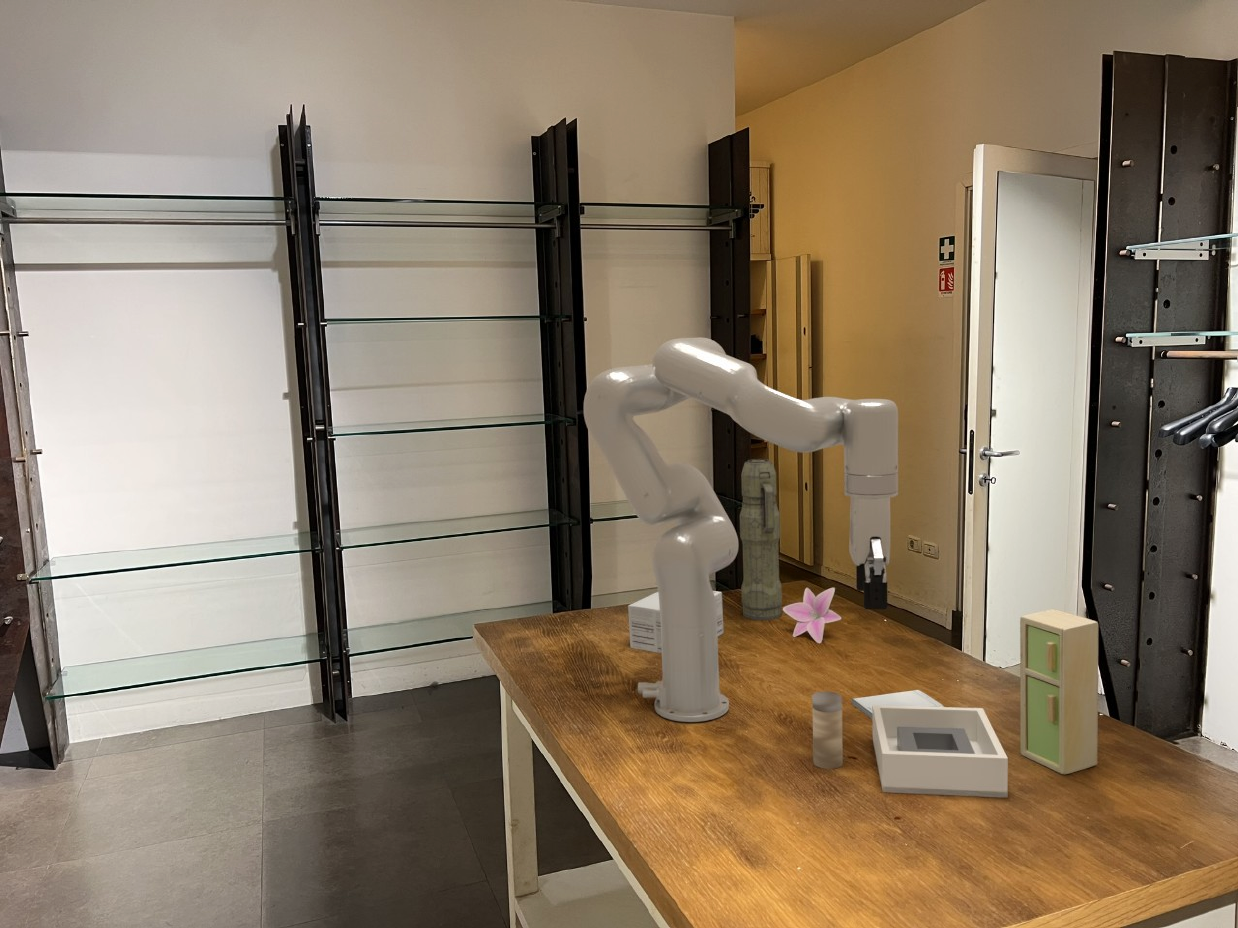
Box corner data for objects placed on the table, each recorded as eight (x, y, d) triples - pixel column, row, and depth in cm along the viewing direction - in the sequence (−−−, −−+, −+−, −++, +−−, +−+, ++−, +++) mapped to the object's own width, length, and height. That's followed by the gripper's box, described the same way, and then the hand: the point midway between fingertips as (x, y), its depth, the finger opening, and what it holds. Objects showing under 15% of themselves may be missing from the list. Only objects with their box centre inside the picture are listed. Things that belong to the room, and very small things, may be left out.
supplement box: (671, 625, 206) (669, 584, 205) (724, 634, 199) (723, 591, 198) (628, 648, 192) (626, 604, 191) (683, 658, 185) (681, 612, 184)
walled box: (882, 791, 127) (882, 753, 127) (872, 739, 144) (872, 705, 143) (1007, 797, 124) (1007, 758, 124) (982, 743, 141) (982, 708, 140)
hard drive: (875, 715, 150) (944, 705, 153) (851, 697, 158) (917, 687, 161) (875, 725, 150) (944, 714, 153) (851, 707, 158) (917, 696, 161)
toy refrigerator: (1014, 755, 137) (1016, 615, 134) (1051, 744, 140) (1054, 607, 137) (1059, 777, 129) (1062, 630, 127) (1097, 765, 132) (1101, 621, 130)
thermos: (758, 624, 204) (754, 465, 199) (732, 610, 215) (727, 459, 210) (793, 618, 207) (790, 461, 203) (765, 605, 218) (761, 456, 213)
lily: (780, 632, 201) (771, 600, 196) (824, 605, 204) (817, 573, 199) (813, 664, 191) (804, 631, 186) (859, 635, 194) (852, 602, 189)
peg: (813, 768, 135) (812, 701, 134) (813, 755, 140) (811, 690, 138) (843, 769, 135) (842, 702, 133) (842, 756, 139) (841, 691, 137)
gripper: (839, 476, 145) (840, 583, 147) (850, 495, 128) (851, 616, 130) (889, 475, 144) (889, 583, 146) (907, 494, 127) (907, 616, 129)
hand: (871, 599), depth 138 cm, fingers open, 9 cm apart
